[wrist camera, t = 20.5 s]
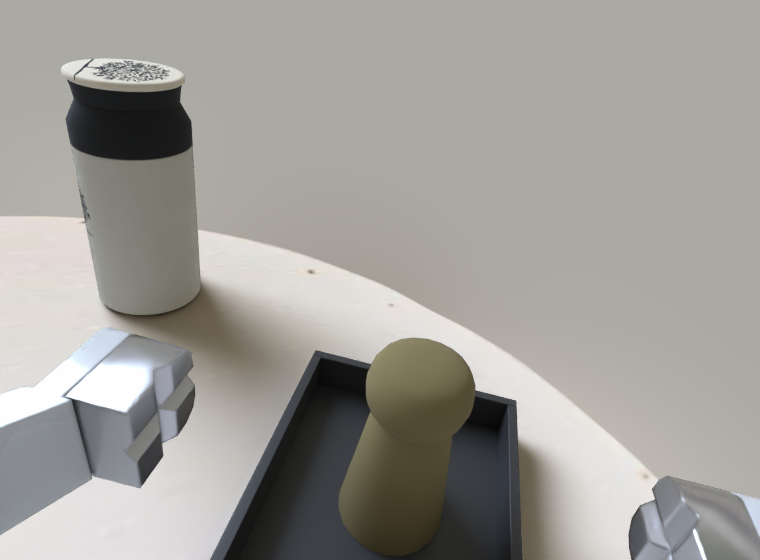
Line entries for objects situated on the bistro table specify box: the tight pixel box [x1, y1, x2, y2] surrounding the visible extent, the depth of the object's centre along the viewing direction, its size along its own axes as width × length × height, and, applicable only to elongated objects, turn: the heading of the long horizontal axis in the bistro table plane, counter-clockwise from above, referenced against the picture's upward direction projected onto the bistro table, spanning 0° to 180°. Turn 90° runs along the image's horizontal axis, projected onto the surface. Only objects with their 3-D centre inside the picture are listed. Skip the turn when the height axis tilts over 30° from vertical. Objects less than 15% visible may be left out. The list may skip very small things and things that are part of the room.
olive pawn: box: [338, 338, 475, 556], centre depth 26 cm, size 6×6×11 cm
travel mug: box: [61, 59, 201, 315], centre depth 38 cm, size 8×8×18 cm
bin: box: [210, 350, 522, 560], centre depth 28 cm, size 16×14×3 cm
